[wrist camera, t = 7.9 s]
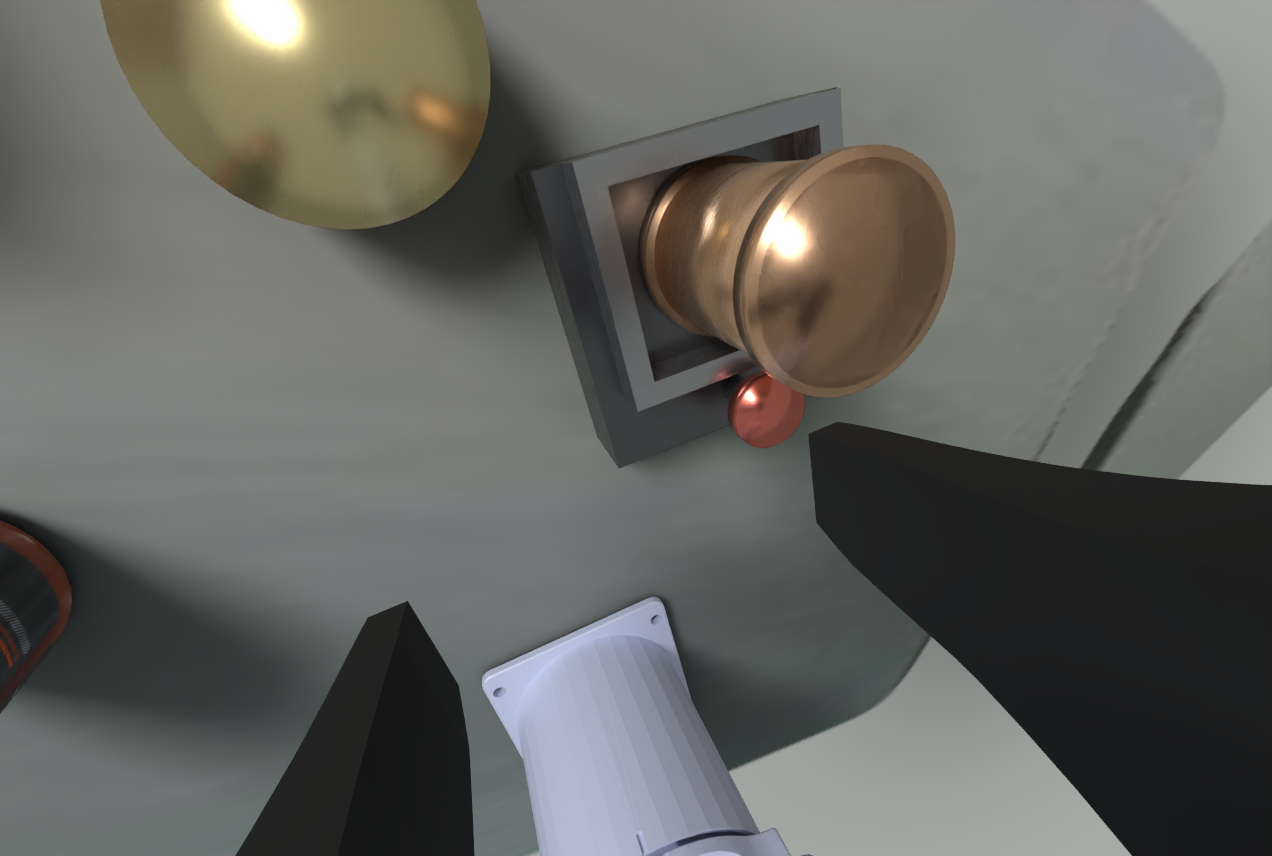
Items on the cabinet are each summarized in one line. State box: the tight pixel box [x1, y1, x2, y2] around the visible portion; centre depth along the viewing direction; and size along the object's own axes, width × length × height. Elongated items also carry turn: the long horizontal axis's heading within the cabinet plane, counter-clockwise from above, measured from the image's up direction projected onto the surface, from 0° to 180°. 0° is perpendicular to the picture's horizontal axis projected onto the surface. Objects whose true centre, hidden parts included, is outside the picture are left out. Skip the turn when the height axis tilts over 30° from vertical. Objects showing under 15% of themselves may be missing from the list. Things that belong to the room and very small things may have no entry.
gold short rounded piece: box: [101, 0, 491, 230], centre depth 12 cm, size 6×6×4 cm
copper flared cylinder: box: [640, 145, 955, 398], centre depth 14 cm, size 5×5×6 cm
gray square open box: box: [516, 87, 843, 468], centre depth 17 cm, size 9×9×5 cm
